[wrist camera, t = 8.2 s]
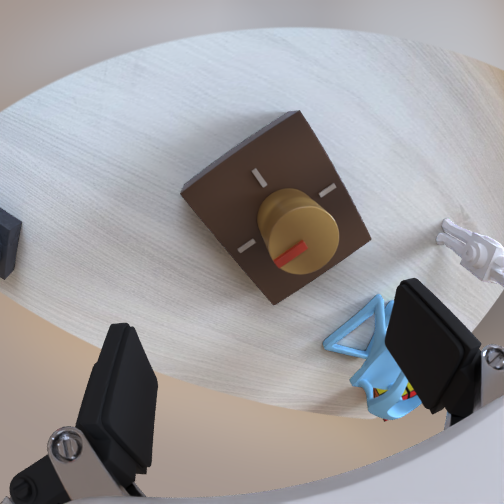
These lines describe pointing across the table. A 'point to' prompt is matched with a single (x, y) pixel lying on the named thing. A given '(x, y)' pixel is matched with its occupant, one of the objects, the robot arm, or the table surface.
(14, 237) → the button block
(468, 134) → the table surface
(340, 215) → the dial panel
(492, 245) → the toy robot
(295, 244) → the dial knob
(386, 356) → the chair
